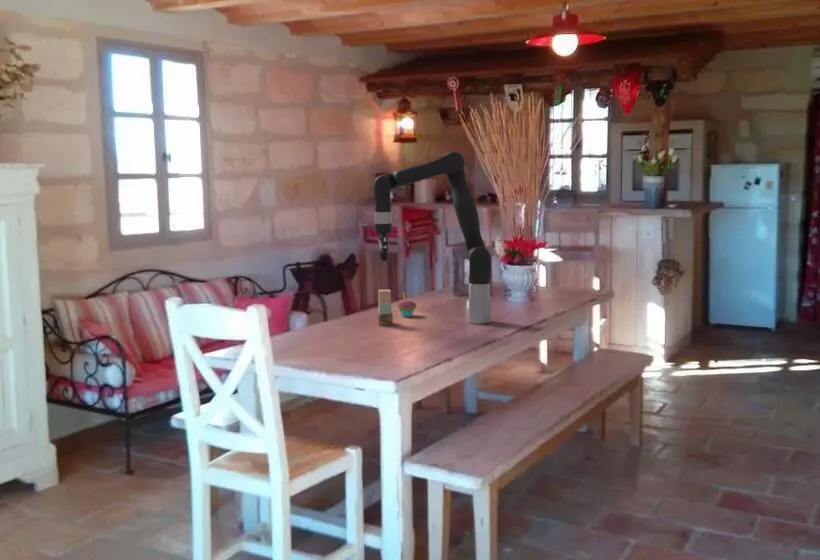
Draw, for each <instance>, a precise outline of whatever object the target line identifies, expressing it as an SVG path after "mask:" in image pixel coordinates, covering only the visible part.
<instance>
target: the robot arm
mask: <svg viewBox="0 0 820 560" xmlns="http://www.w3.org/2000/svg"><path fill="white" fill-rule="evenodd" d="M464 166H465V159H464V156H463V155H462V154H461V153H460V152H458V151H449V152H447V153H445V154H444V155H443V156H441V157H439V158H437V159H434V160H432V161H429V162H426V163H420V164H416V165H412V166H409V167H405V168H402V169H399V170H397V171H393V172H390V173H386V174H383V175H382V174H381V175H378V176H377V177H376V178H374V179H375V180H374V181H373V188H374V190H373V191H374V215H373V216H374V217H373V220H374V224H373V225H374V234H376V235H378V248H379V249H378V250H379V254H380V255H379V257H380V260H381V261H382V262H388V251H389V237H388V236H387V235H389V234H392V233H393V216H392V202H391V190H394V189H397V188H400V187H404V186H409V185H412V184H415V183H418V182H421V181H423V180H427V179H428V178H432V177H435V176H441V175H445V174H446V175H445V176H446V177H447V180H448V183H449V186H450V191H451V193H450V194H451V197H452V204H453V208H454V211H455V214H456V218H457V221H458V224H459V228H460V230H461V232H462V235H463V237H464V243H465V248H466V253H467V260H468V262H469V263H468V264H469V267H468V269H469V273H468V323H470V324H475V325H477V324H478V325H479V324H480V325H481V324H482V325H483V324H491V323H492V301H491V275H492V270H491V269H492V257H491V253H490V251H489V250H488V248H486V246H485V244H484V243H485V242H484V240H483V238H482V234H481V230H480V229H481V228H480V218H479V212H478V208H477V205H476V202H475V199H474V196H473V193H472V191H471V189H470V186H469V184H468V182H467V178H466V174H465V168H464Z"/></svg>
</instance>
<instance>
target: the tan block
mask: <svg viewBox="0 0 820 560" xmlns="http://www.w3.org/2000/svg"><path fill="white" fill-rule="evenodd" d="M379 303H391V304H392V291H391V289H378V304H379Z"/></svg>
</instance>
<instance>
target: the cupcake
mask: <svg viewBox="0 0 820 560" xmlns="http://www.w3.org/2000/svg"><path fill="white" fill-rule="evenodd" d="M402 297H403V300H402V301H401V302H399V303H398V304H397V309H398V310H399V311H400V314H401V317H402V318H403V317H404V318H411V317H413V315H414V312H415V310H416V309H417V304H416V303H415V302H414V301H412V300H406V295H405V291H402ZM410 316H411V317H410Z"/></svg>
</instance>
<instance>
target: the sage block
mask: <svg viewBox="0 0 820 560" xmlns="http://www.w3.org/2000/svg"><path fill="white" fill-rule="evenodd" d="M378 312H379V314H391V312H392V302H391V303H379V302H378Z"/></svg>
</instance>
